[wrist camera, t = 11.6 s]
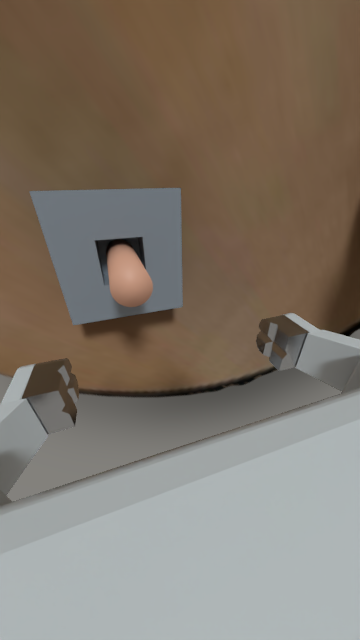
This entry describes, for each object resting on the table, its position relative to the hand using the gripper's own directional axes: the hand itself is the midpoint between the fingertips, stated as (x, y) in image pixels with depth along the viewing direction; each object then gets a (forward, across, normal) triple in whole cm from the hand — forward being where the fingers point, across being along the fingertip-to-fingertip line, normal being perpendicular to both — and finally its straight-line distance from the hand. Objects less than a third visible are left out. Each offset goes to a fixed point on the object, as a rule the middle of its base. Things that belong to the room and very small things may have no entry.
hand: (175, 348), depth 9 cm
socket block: (+23, +1, +1) cm, 23 cm away
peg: (+22, +1, +1) cm, 22 cm away
